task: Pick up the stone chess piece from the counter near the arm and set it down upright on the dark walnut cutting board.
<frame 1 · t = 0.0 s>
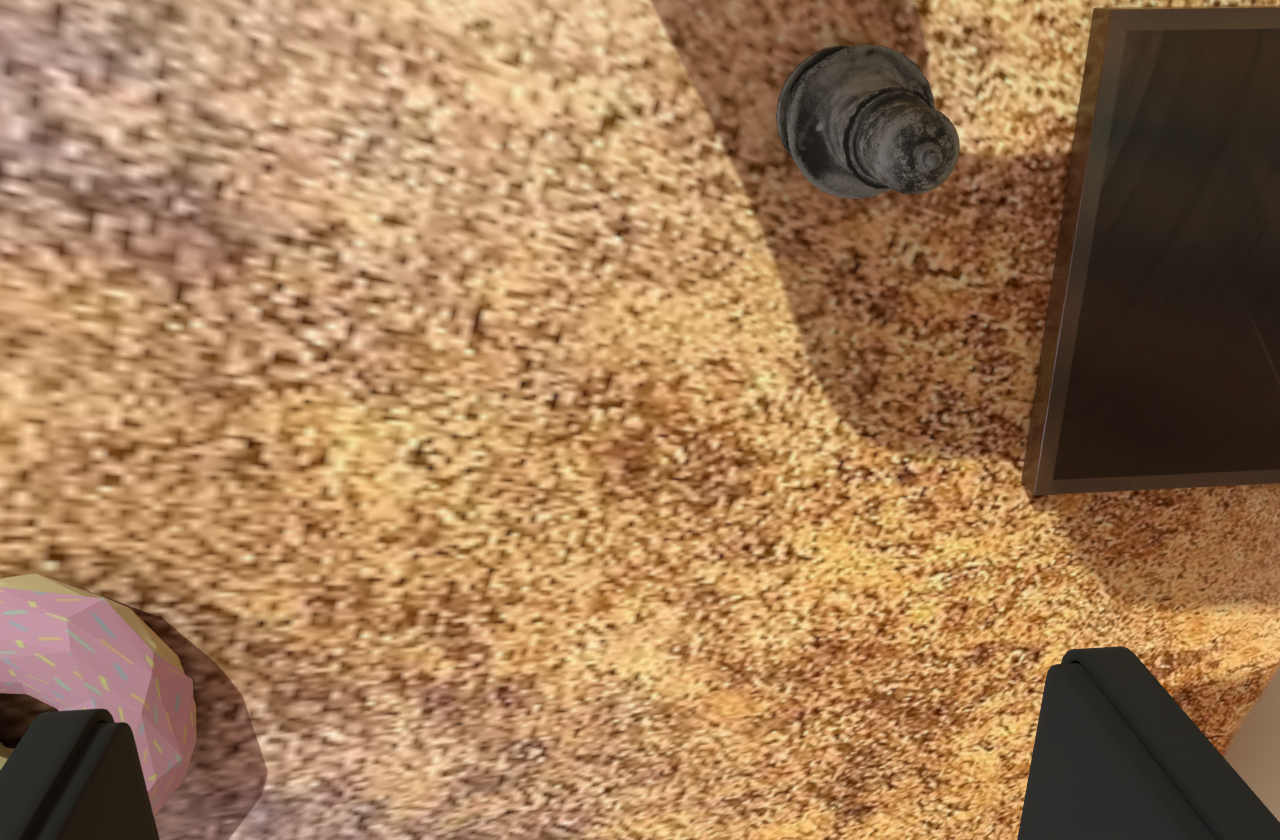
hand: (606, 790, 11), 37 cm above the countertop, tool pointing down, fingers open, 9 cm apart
board: (1210, 261, 49), on the countertop
donut: (50, 687, 53), on the countertop
stone chess piece: (836, 111, 45), on the countertop
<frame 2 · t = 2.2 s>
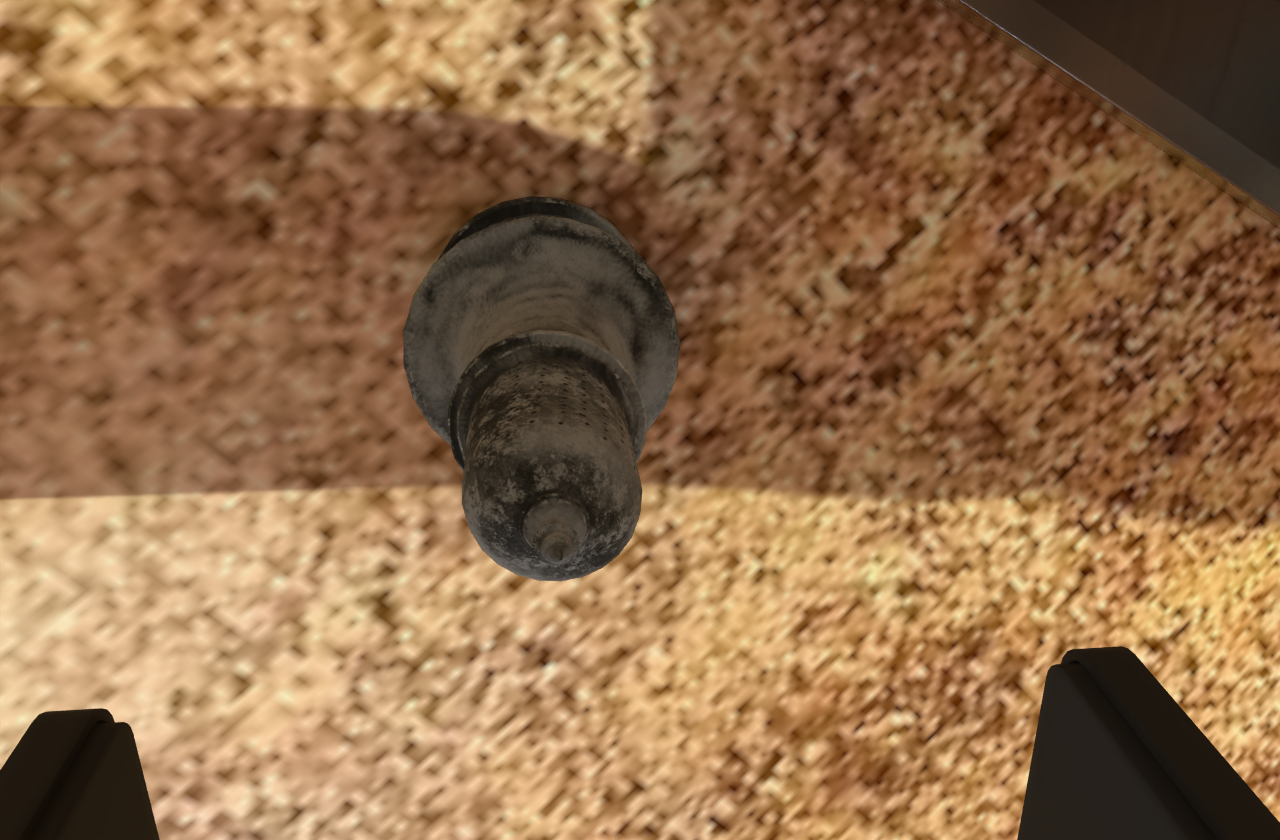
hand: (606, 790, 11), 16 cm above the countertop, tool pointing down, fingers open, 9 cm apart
stone chess piece: (539, 302, 26), on the countertop
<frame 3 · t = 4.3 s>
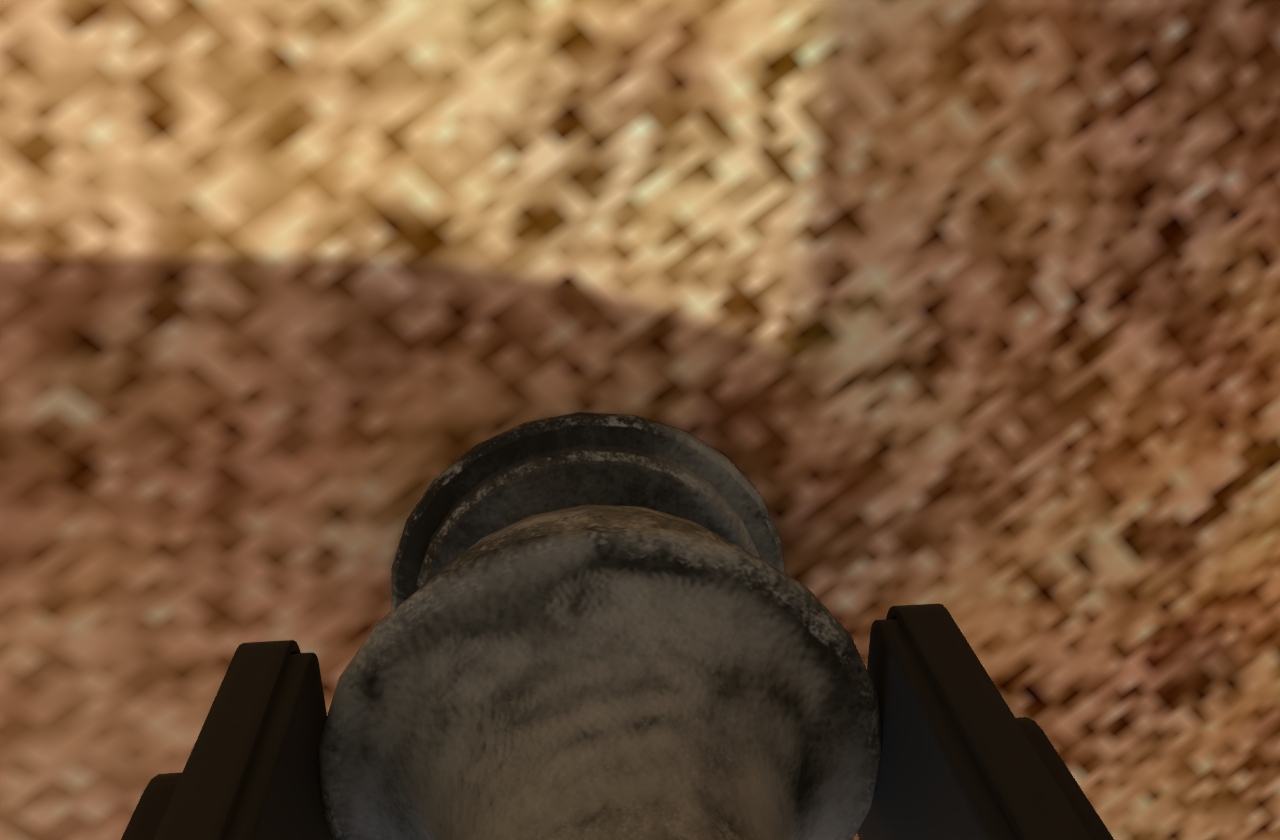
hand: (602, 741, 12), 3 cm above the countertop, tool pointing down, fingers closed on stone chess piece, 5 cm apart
stone chess piece: (590, 584, 14), on the countertop, touching gripper
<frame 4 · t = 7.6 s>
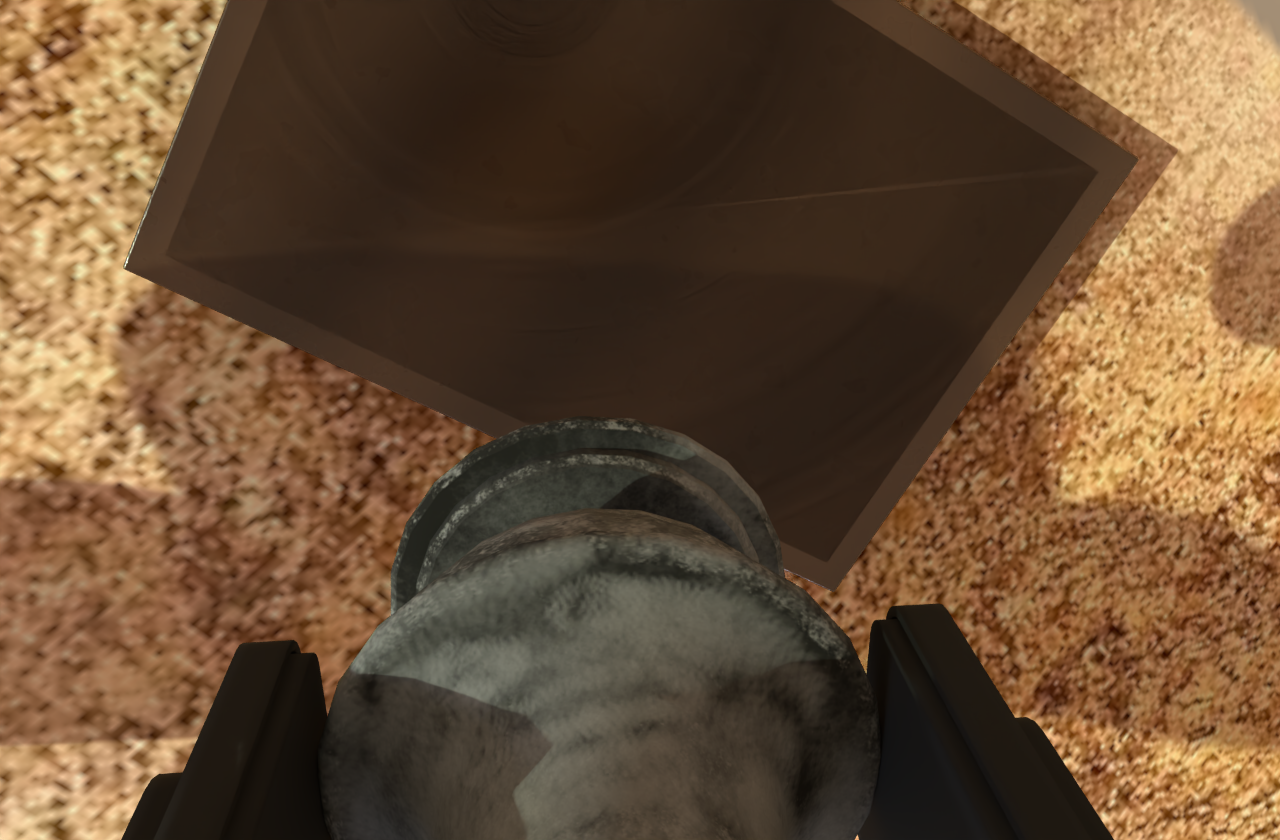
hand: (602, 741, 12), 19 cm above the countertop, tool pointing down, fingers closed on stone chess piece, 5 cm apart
board: (638, 200, 29), on the countertop
stone chess piece: (589, 587, 14), point 16 cm above the countertop, touching gripper
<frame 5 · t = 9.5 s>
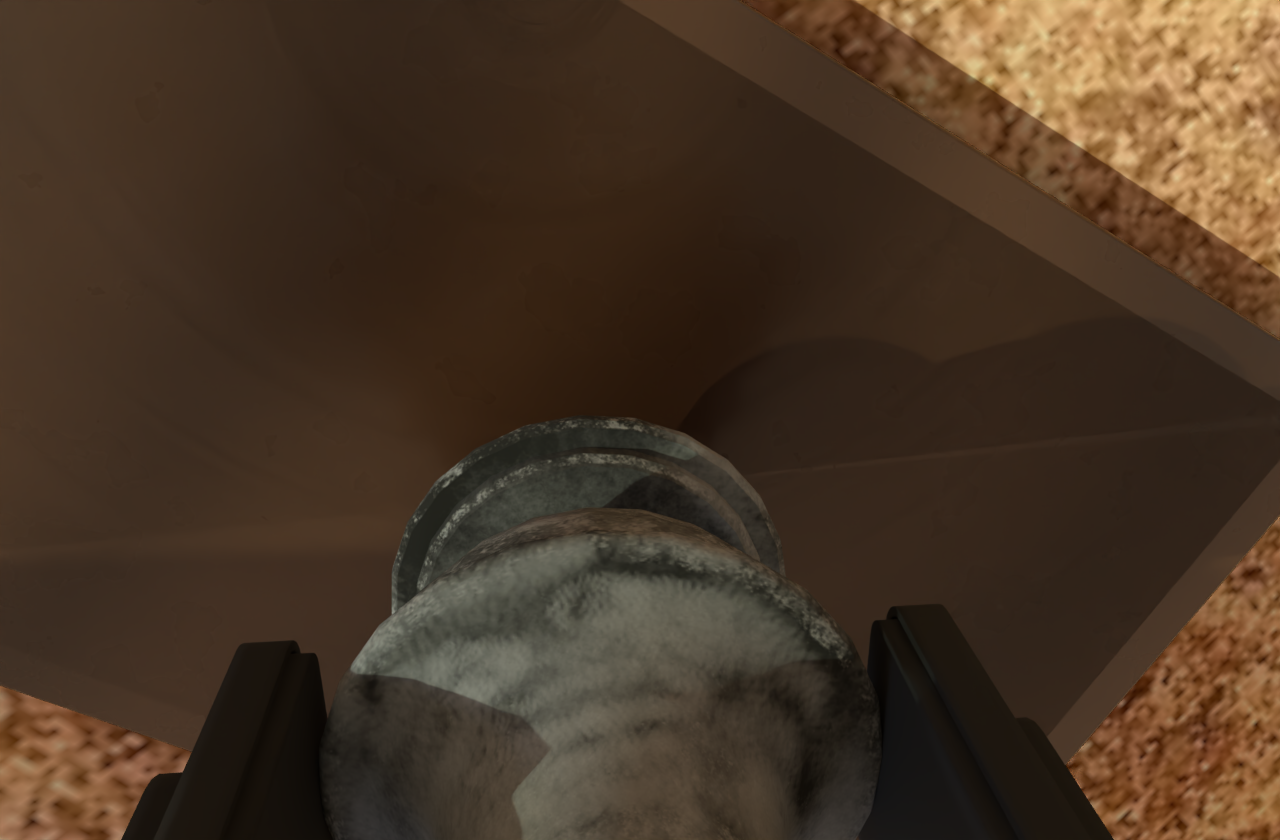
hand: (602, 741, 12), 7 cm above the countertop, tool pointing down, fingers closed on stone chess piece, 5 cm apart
board: (579, 453, 18), on the countertop
stone chess piece: (590, 587, 14), point 4 cm above the countertop, touching gripper
when the fingers open (4 cm above the countertop, at t = 10.9 s): stone chess piece stays where it is, resting on board.
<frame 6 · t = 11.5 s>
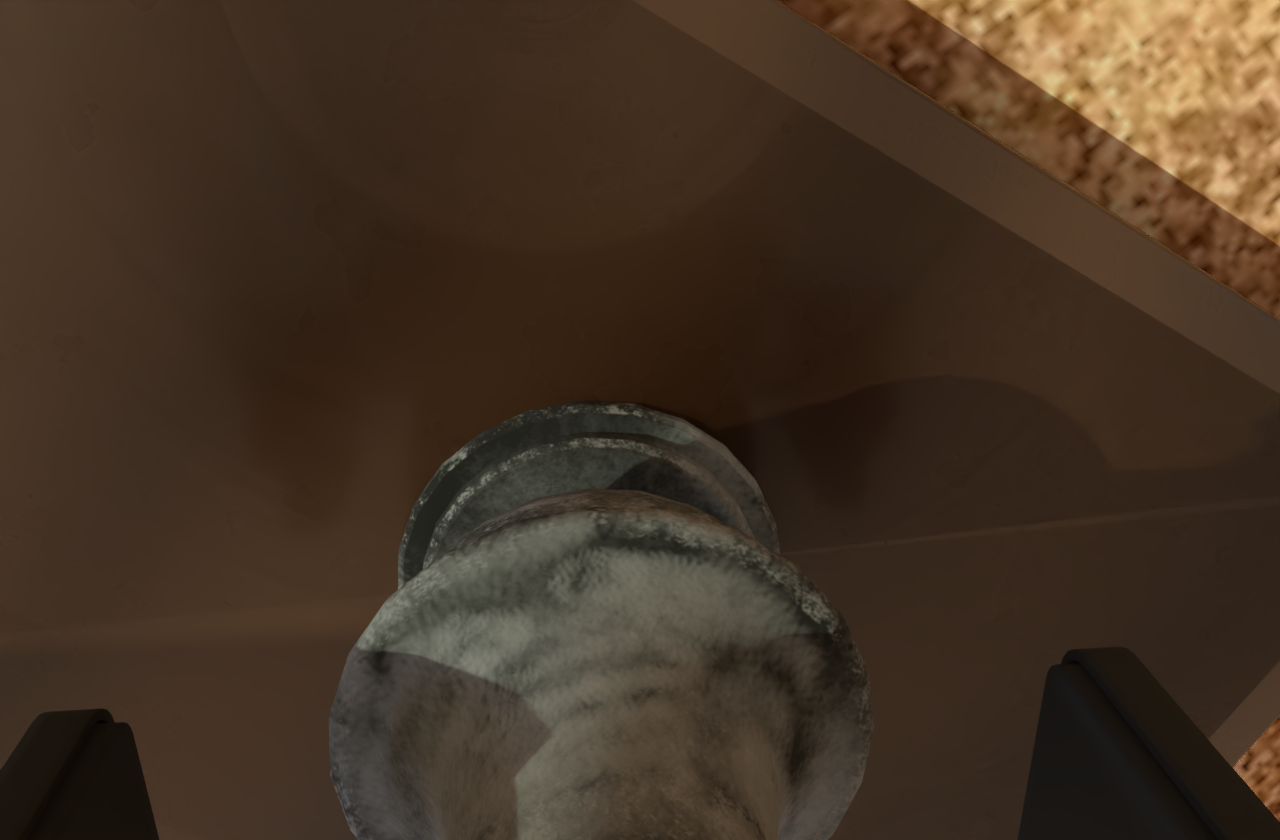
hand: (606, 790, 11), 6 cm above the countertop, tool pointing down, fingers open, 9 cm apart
board: (591, 521, 16), on the countertop
stone chess piece: (591, 569, 15), point 1 cm above the countertop, touching board
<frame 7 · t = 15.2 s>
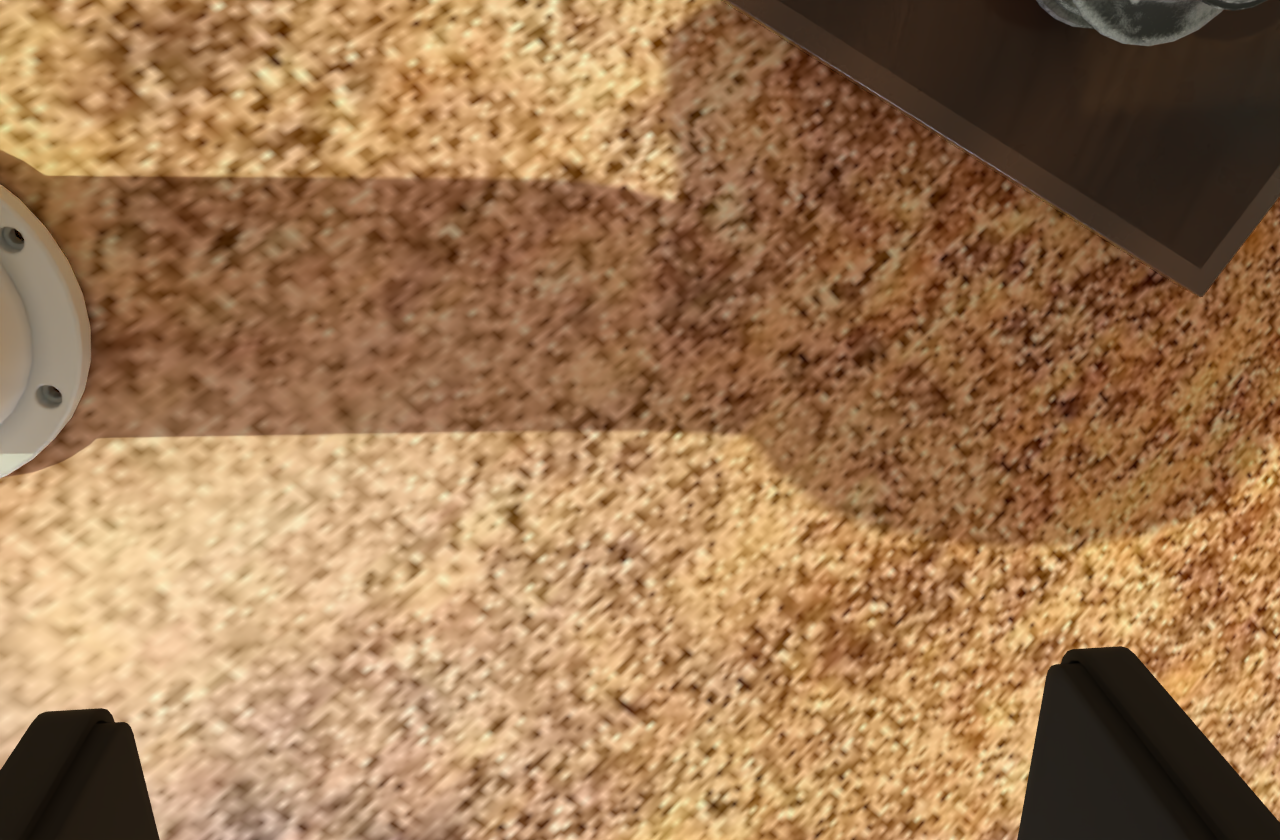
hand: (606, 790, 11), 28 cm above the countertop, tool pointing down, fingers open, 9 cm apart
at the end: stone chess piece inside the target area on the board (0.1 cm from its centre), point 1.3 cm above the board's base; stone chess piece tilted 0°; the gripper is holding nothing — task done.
